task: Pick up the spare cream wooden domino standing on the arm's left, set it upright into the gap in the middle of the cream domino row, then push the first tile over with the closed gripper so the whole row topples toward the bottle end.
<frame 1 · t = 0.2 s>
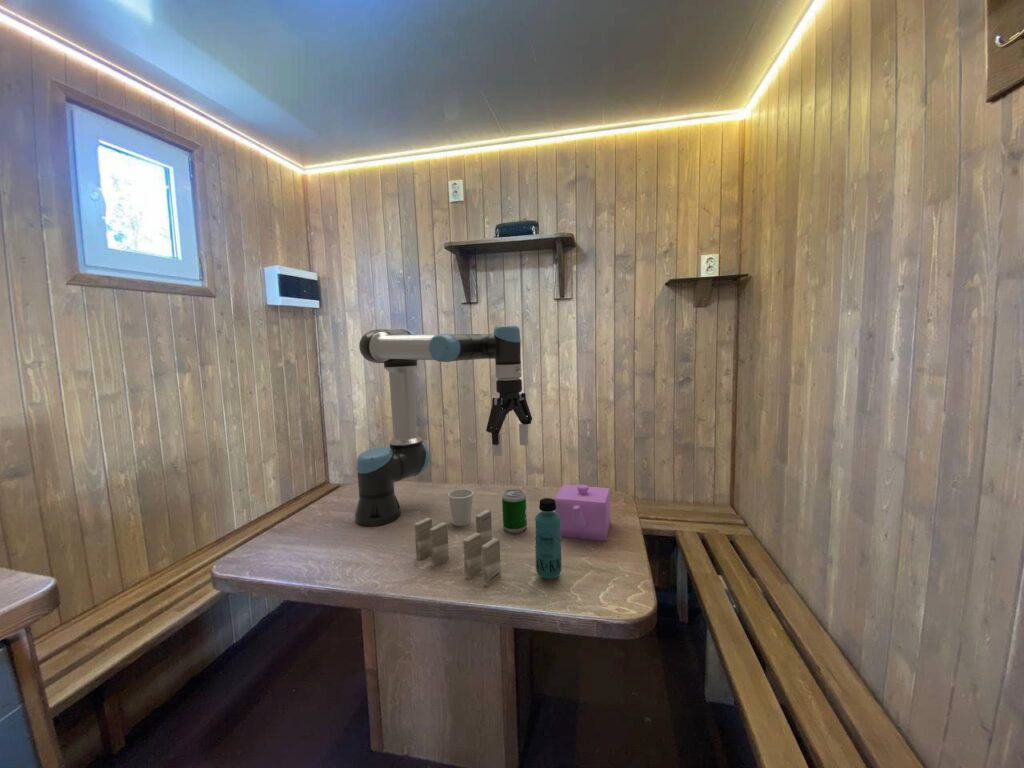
hand: (511, 450, 126), 27 cm above the table, fingers open, 13 cm apart
dixie cup: (462, 522, 140), on the table
beverage bottle: (549, 578, 106), on the table
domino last: (492, 581, 105), on the table
domino 1: (425, 555, 119), on the table
domino 2: (440, 561, 115), on the table
purple lidded box: (582, 531, 131), on the table
soda can: (515, 529, 134), on the table
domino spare: (484, 546, 123), on the table
domino 4: (473, 574, 108), on the table
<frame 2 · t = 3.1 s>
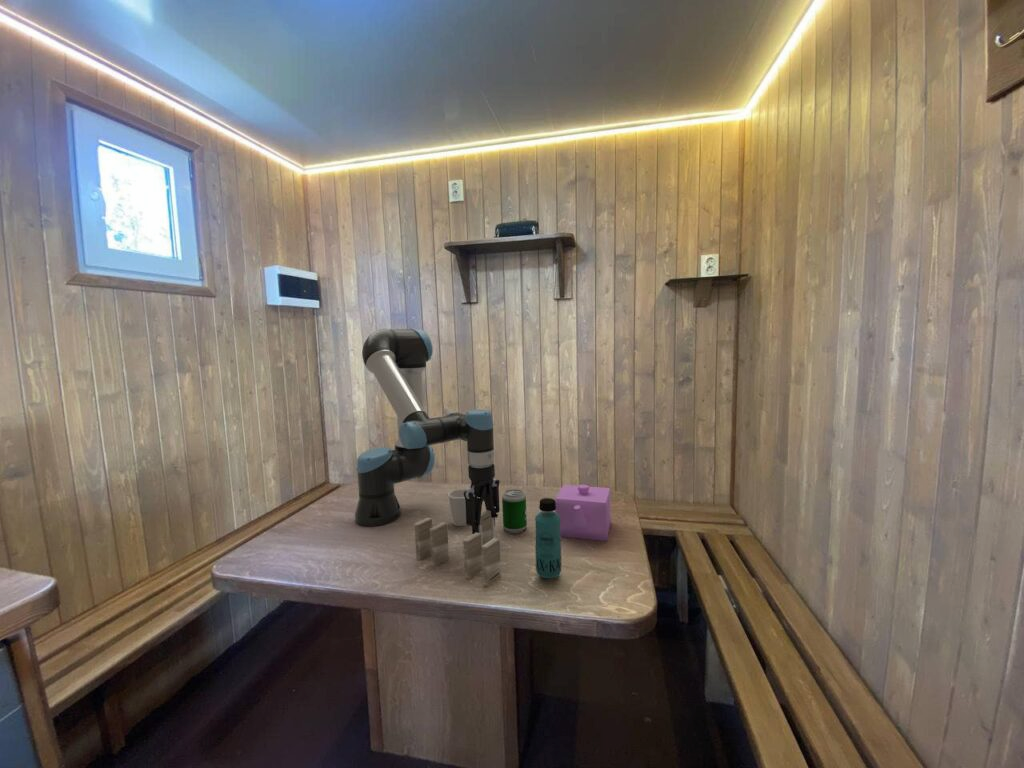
hand: (484, 542, 123), 1 cm above the table, fingers closed on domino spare, 5 cm apart
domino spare: (484, 546, 123), on the table, touching gripper
everything else where it was.
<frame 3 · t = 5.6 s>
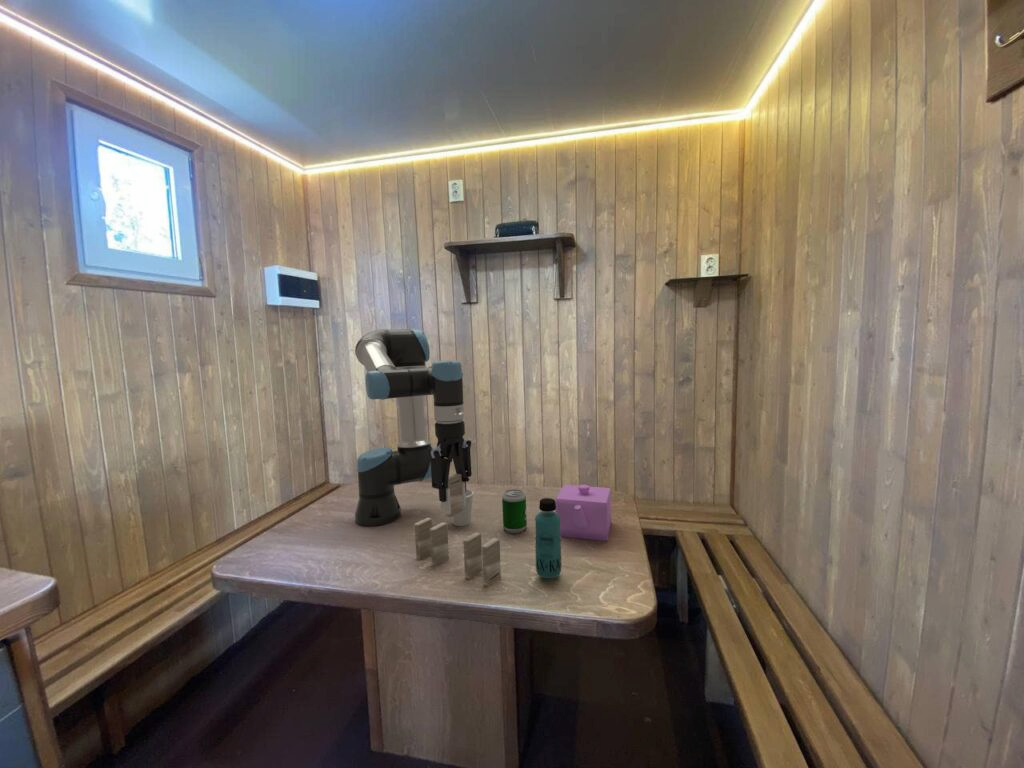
hand: (453, 508, 110), 16 cm above the table, fingers closed on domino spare, 5 cm apart
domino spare: (454, 513, 110), point 15 cm above the table, touching gripper
everything else where it was.
when the fingers open (2 cm above the table, at t = 8.3 s): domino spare stays where it is, on the table.
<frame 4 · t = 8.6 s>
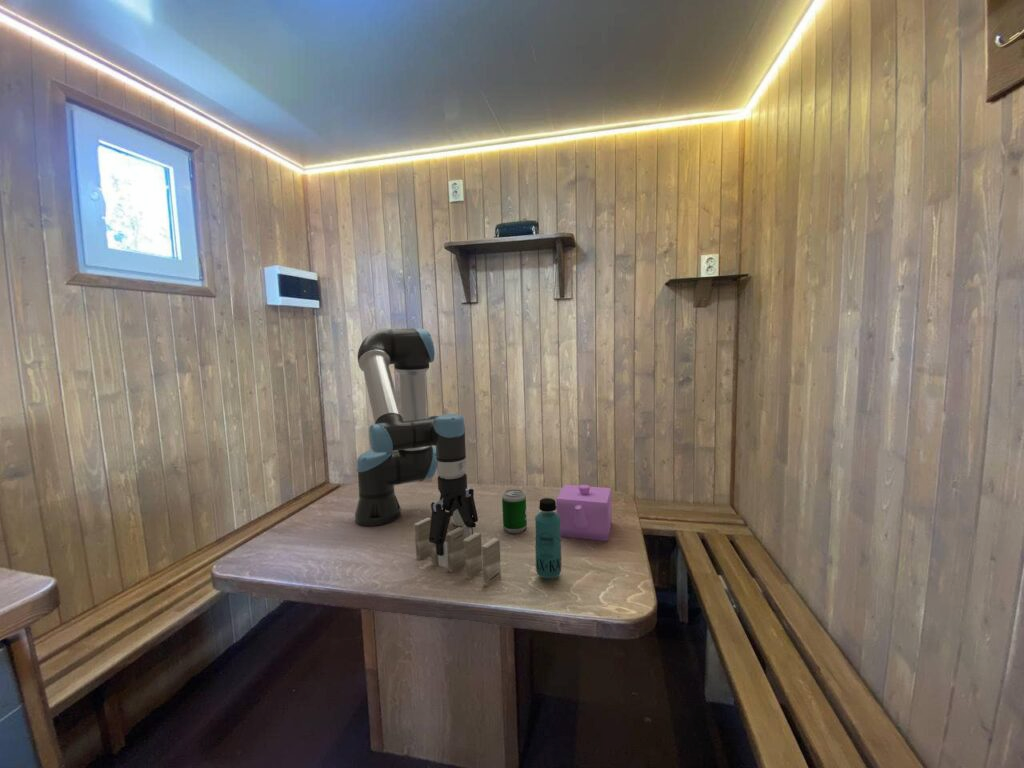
hand: (456, 557, 111), 3 cm above the table, fingers open, 9 cm apart
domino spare: (456, 567, 112), on the table
everything else where it was.
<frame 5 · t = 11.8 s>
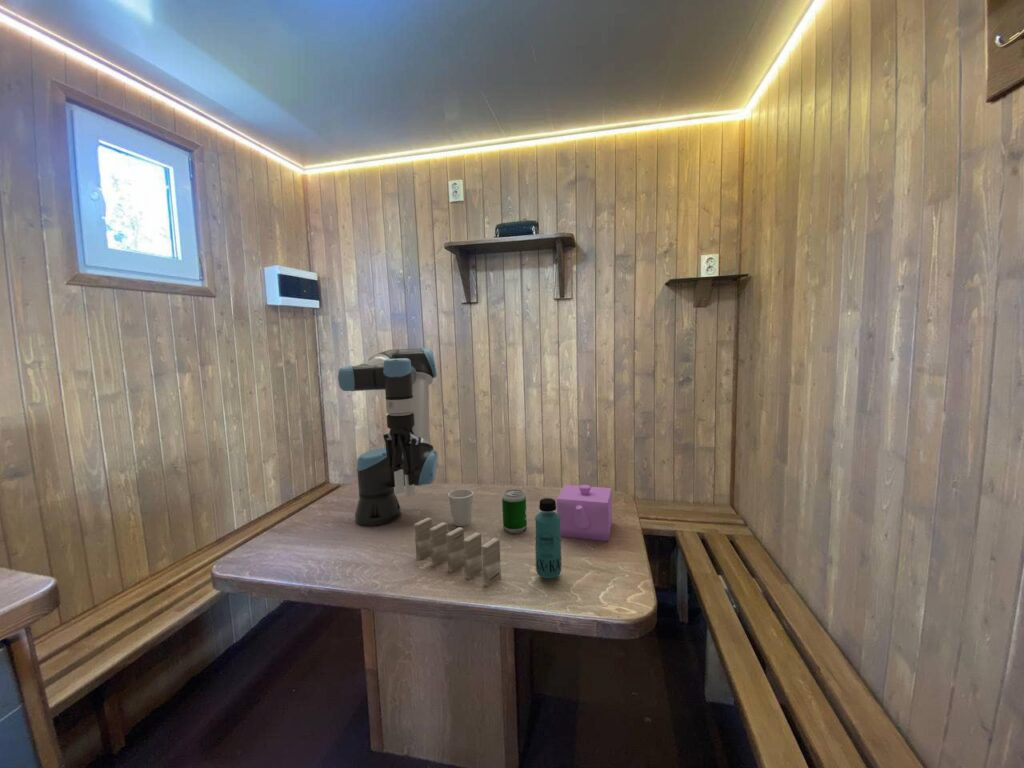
hand: (405, 493, 121), 17 cm above the table, fingers open, 4 cm apart
nothing on the table moved.
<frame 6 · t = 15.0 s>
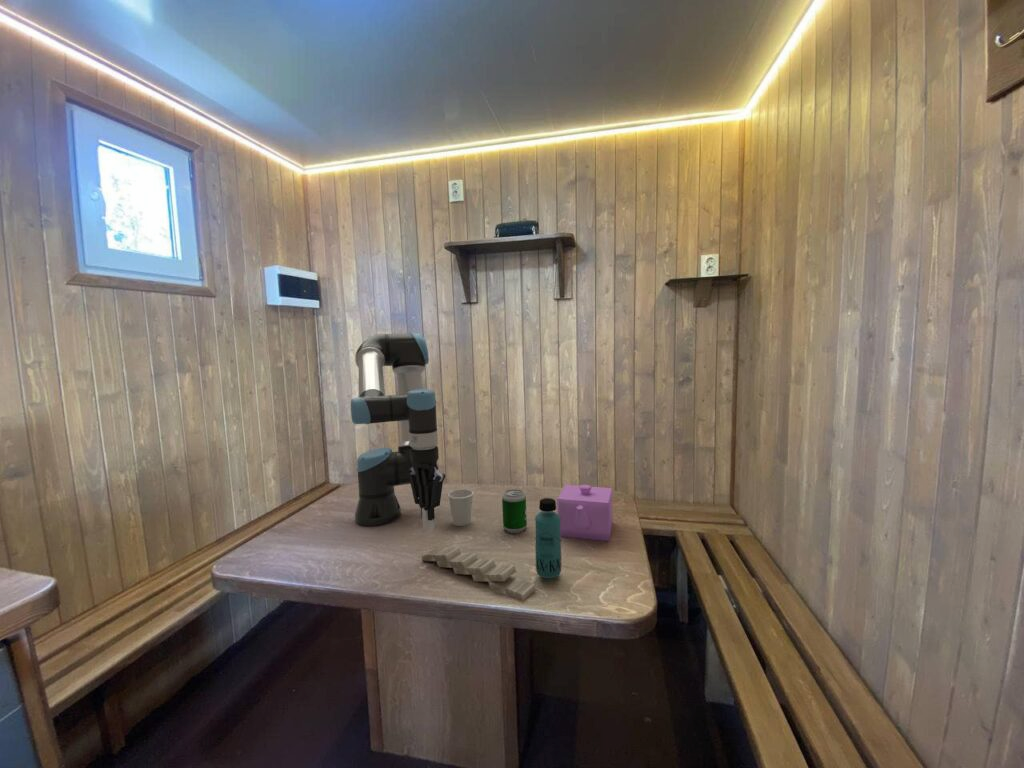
hand: (428, 530, 117), 8 cm above the table, fingers closed
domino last: (495, 579, 104), point 1 cm above the table, tilted 90°, touching domino 4
domino 1: (428, 554, 118), point 1 cm above the table, tilted 75°, touching domino 2
domino 2: (444, 560, 114), point 1 cm above the table, tilted 75°, touching domino 1, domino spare
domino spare: (460, 566, 111), point 1 cm above the table, tilted 74°, touching domino 2, domino 4
domino 4: (479, 573, 107), point 1 cm above the table, tilted 72°, touching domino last, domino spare
everything else where it was.
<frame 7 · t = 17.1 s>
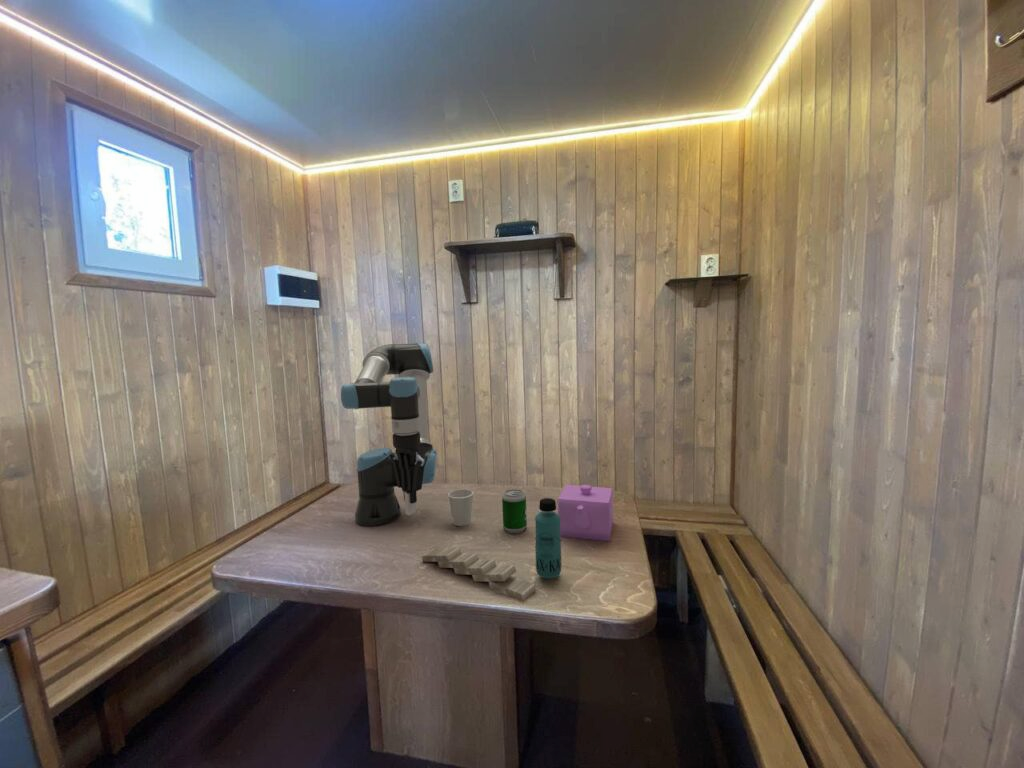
hand: (411, 512, 121), 11 cm above the table, fingers closed
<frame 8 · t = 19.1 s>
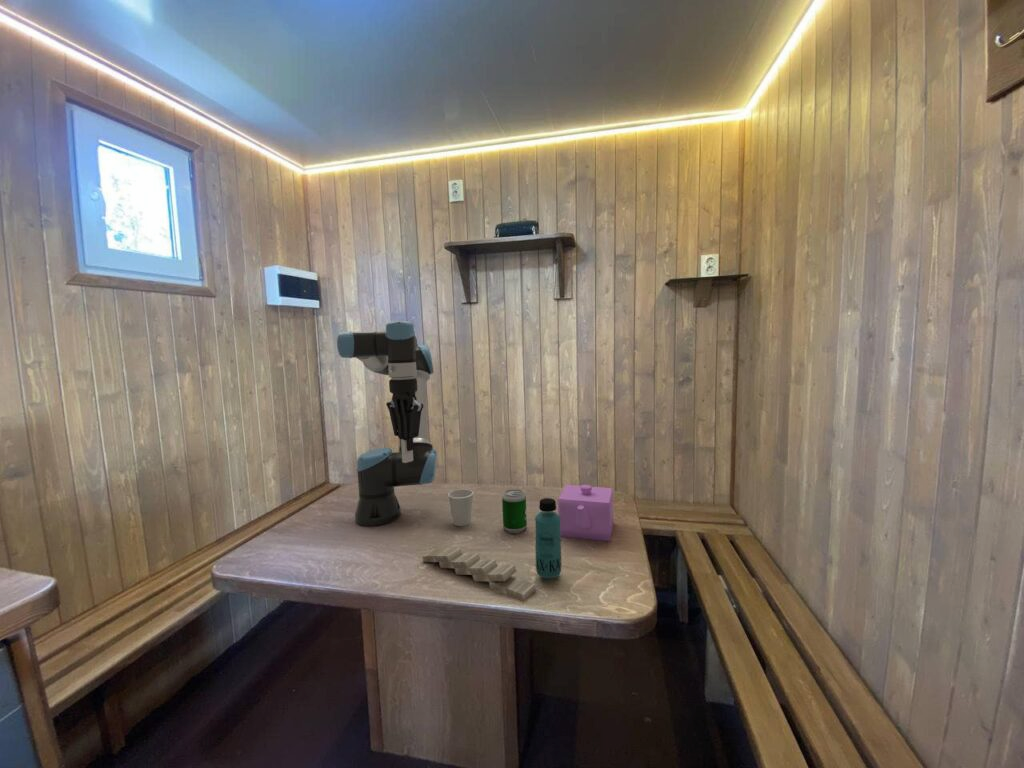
hand: (407, 461, 119), 26 cm above the table, fingers closed
domino 4: (479, 573, 107), point 1 cm above the table, tilted 72°, touching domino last, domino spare
at the end: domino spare inside the target area (1.0 cm from its centre), point 0.7 cm above the table; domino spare tilted 73°; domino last tilted 90° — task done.
